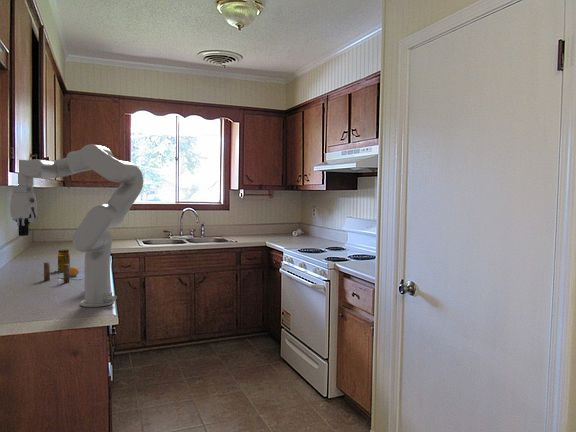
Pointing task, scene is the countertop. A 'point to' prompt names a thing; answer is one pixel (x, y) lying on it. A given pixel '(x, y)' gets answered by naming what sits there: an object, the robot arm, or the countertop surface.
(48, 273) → the left post
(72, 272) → the ball
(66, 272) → the right post
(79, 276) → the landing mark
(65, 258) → the condiment
